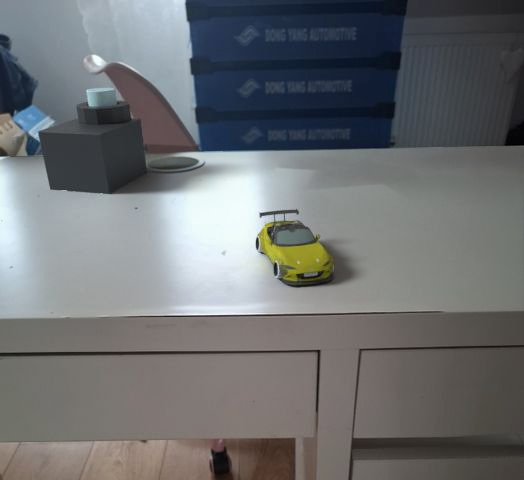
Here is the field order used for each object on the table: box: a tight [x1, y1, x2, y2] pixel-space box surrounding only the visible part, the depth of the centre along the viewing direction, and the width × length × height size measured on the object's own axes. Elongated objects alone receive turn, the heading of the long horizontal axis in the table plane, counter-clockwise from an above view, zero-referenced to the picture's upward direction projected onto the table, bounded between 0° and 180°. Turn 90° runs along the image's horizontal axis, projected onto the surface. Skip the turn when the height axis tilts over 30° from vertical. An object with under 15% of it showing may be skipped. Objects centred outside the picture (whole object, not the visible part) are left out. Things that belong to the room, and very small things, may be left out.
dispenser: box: [37, 99, 148, 195], centre depth 68 cm, size 11×8×8 cm
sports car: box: [255, 208, 335, 286], centre depth 47 cm, size 5×10×3 cm, turn 14°
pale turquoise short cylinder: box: [86, 87, 118, 107], centre depth 68 cm, size 3×3×2 cm
